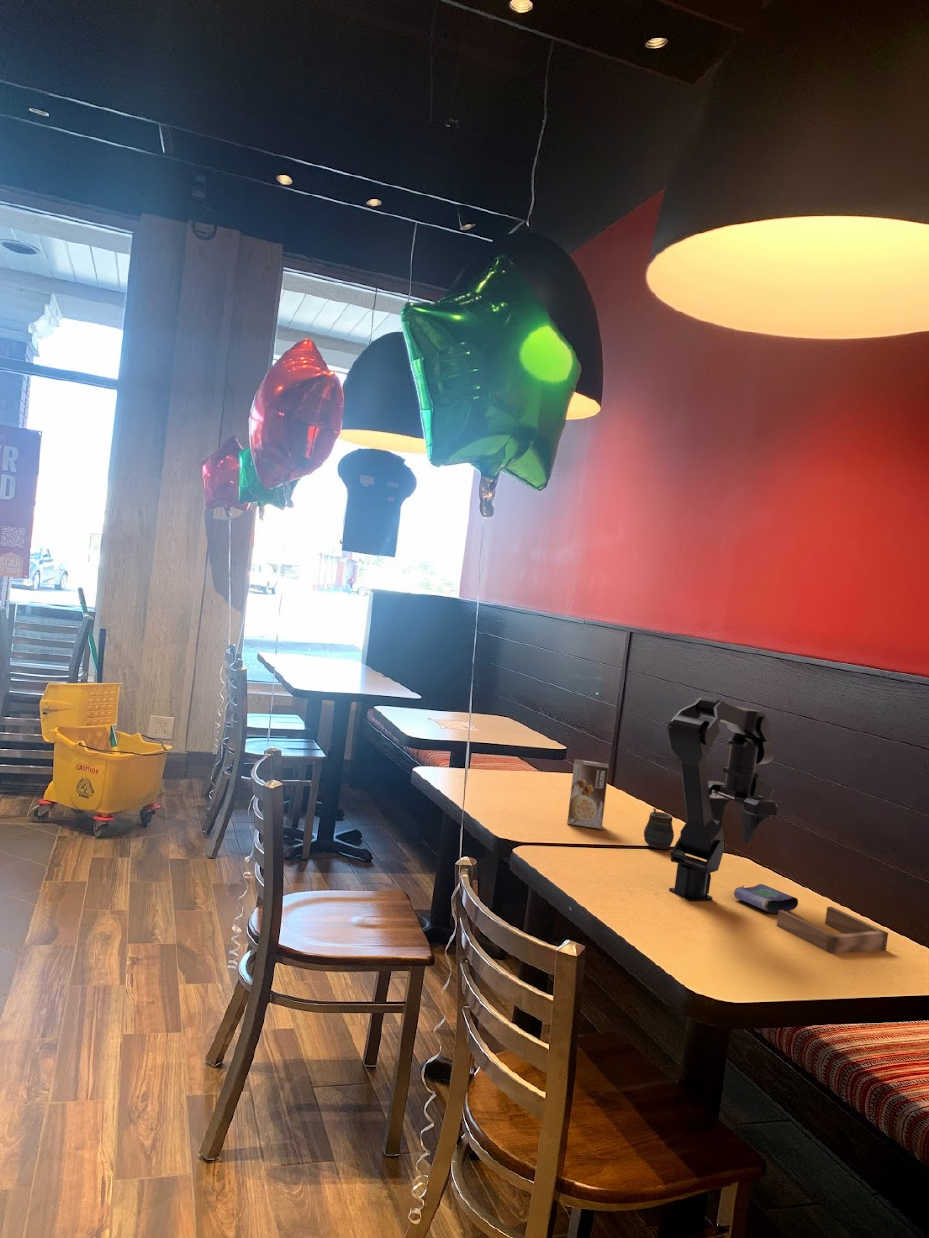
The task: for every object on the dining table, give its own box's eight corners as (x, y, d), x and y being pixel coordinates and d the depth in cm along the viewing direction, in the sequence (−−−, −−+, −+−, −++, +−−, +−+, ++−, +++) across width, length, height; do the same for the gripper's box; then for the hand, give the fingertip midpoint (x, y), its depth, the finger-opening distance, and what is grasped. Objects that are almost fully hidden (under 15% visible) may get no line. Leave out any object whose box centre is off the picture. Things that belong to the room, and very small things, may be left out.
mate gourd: (676, 847, 227) (681, 807, 227) (665, 853, 221) (671, 812, 220) (649, 840, 231) (654, 801, 230) (637, 845, 224) (643, 805, 224)
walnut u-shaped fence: (831, 957, 165) (833, 938, 165) (776, 928, 177) (778, 910, 176) (885, 951, 171) (888, 932, 171) (829, 923, 183) (831, 906, 183)
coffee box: (602, 823, 242) (610, 763, 241) (601, 829, 235) (609, 768, 235) (567, 818, 243) (575, 758, 242) (566, 823, 237) (573, 762, 236)
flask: (766, 900, 182) (727, 884, 192) (765, 915, 182) (726, 898, 192) (799, 896, 187) (758, 880, 196) (798, 910, 187) (757, 894, 196)
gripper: (801, 777, 194) (790, 849, 195) (740, 757, 211) (730, 824, 212) (761, 775, 190) (751, 849, 190) (702, 755, 206) (692, 824, 207)
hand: (731, 836), depth 200 cm, fingers open, 9 cm apart
